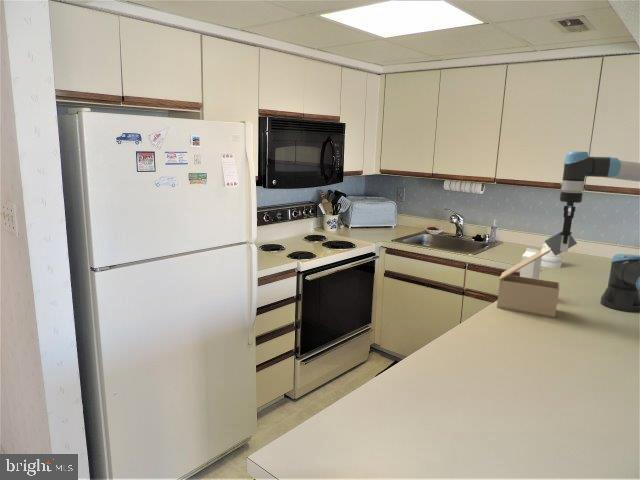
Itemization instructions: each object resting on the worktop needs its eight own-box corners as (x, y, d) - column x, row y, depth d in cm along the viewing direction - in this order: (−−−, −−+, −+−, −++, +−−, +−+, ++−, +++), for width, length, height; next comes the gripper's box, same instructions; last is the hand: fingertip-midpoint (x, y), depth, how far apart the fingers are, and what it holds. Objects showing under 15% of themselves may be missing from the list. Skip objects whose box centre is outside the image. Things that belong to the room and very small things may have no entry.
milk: (529, 298, 203) (536, 251, 198) (517, 295, 207) (522, 248, 203) (536, 296, 206) (543, 249, 202) (524, 292, 211) (530, 247, 206)
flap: (576, 240, 182) (565, 226, 183) (577, 245, 172) (565, 230, 173) (507, 279, 197) (497, 266, 198) (504, 286, 187) (494, 272, 188)
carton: (555, 309, 190) (559, 282, 187) (554, 318, 180) (559, 289, 178) (499, 300, 200) (503, 274, 197) (496, 307, 190) (499, 280, 188)
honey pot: (565, 266, 263) (569, 236, 259) (553, 269, 255) (558, 238, 252) (544, 261, 273) (548, 232, 269) (532, 263, 266) (536, 234, 262)
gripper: (560, 189, 183) (553, 246, 188) (560, 192, 170) (552, 253, 175) (582, 190, 180) (574, 248, 184) (583, 193, 166) (574, 255, 171)
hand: (563, 250), depth 180 cm, fingers closed on flap, 2 cm apart
